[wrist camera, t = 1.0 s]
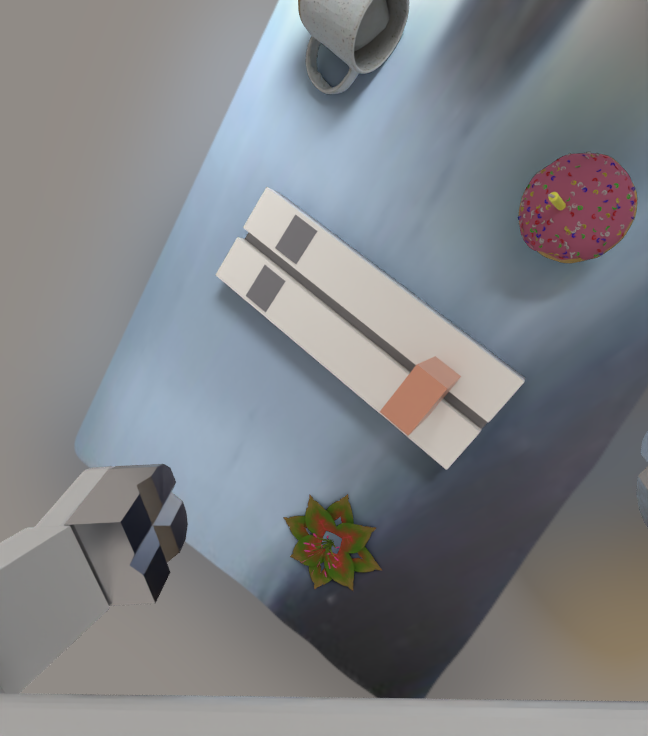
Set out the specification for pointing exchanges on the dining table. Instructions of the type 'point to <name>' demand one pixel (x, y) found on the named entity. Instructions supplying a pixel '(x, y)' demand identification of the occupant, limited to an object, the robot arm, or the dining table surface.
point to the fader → (419, 394)
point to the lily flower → (331, 543)
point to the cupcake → (577, 207)
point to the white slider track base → (363, 322)
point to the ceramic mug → (352, 34)
